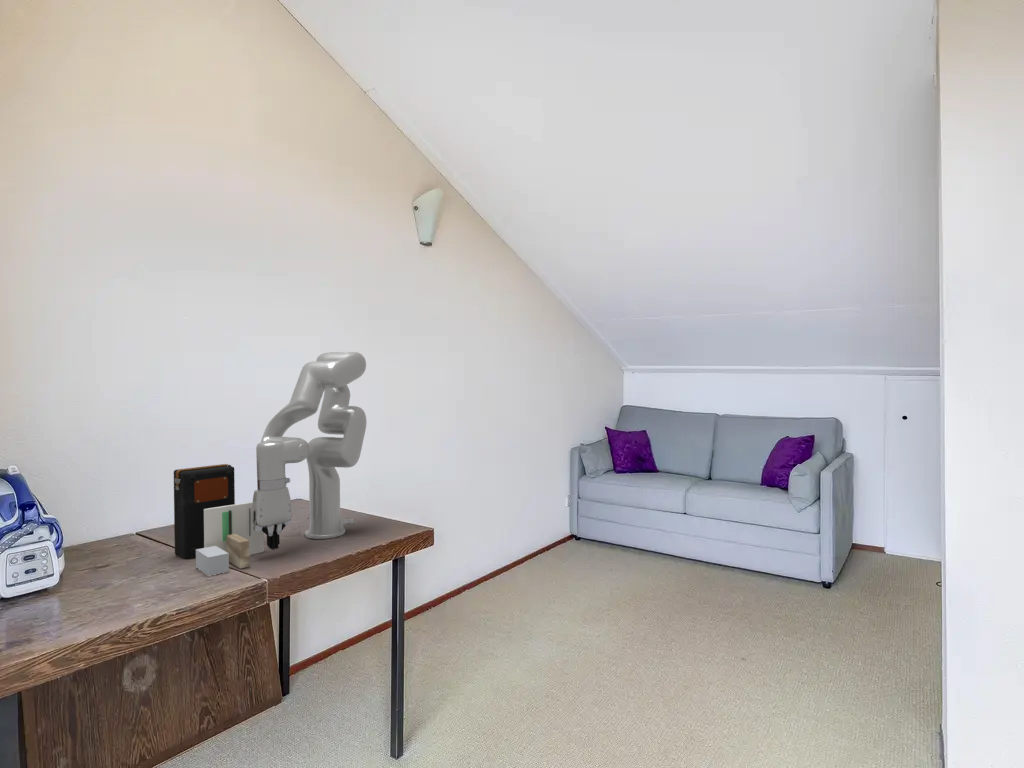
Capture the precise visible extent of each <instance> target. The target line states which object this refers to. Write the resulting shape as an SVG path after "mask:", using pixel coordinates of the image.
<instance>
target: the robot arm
mask: <svg viewBox="0 0 1024 768" xmlns="http://www.w3.org/2000/svg"><path fill="white" fill-rule="evenodd" d="M366 368H367V361H366V358H365V357H364V355H363V354H361V353H360V352H358V351H340V352H339V351H335V352H323V353H321V354H320V355H318V356H317V358H316V360H315V361H314V360H313V361H309V362H306V363H305V364H304V365H303V366H302V368H301V371H300V373H299V376H298V379H297V382H296V384H295V387H294V389H293V391H292V395H291V398H290V401H289V402H288V403H287V404H286V405H285V406H284V407H282V409H280V410H279V411H278V412H277V413H275V415H274V416H273V417H272V418H271V420H269V422H268V423H267V425H266V427H265V429H264V432H263V435H262V437H261V441H260V442H258V443H257V444H256V447H255V448H256V449H255V451H256V454H255V455H256V477H257V479H256V481H257V482H256V485H257V487H256V488H257V490H256V489H255V490H254V491H253V497H252V502H253V503H252V523H253V524H254V527H253V530H254V531H260V532H261V531H262V532H264V534H265V535H266V546H267V547H268V548H269V549H270V550H273V551H274V550H275V549H276V550H277V549H279V545H280V544H281V542H280V541H281V540H280V534H282V531H283V530H284V529H285V527H288V526H289V525H290V526H291V525H292V524H293V521H292V518H293V510H292V500H291V494H290V492H289V491H290V490H289V487H287V484H289V483H291V479H290V477H287V476H286V464H298V463H300V462H301V463H302V462H303V461H304V460H306V464H307V470H308V478H309V479H308V480H309V482H308V486H309V488H308V489H309V490H308V491H309V493H308V496H309V501H308V503H309V504H308V505H309V528H308V529H307V530H305V532H304V536H305V537H306V538H308V539H313V540H322V539H323V540H324V539H325V540H326V539H332V538H338V537H341V536H343V535H345V533H346V528H345V527H346V526H350V525H353V524H354V523H355V520H354V518H353V517H352V518H342V517H341V481H340V480H341V479H340V475H339V473H338V471H337V469H336V468H346V469H347V468H352V467H354V466H356V464H357V463H358V462H359V459H360V457H361V452H362V449H363V443H364V439H365V435H366V429H367V415H366V413H365V411H364V409H362V407H359V406H358V405H357V406H356V405H350V399H351V391H350V387H349V386H348V385H349V384H350V383H352V382H354V381H356V380H357V379H359V378H361V376H363V374H364V373H365V371H366ZM322 397H323V399H322ZM321 400H322V402H321ZM320 403H321V406H320ZM319 407H320V411H319V416H318V420H317V428H318V430H319V431H320V432H321V433H323V434H326V435H340V436H341V435H342V436H343V437H336V436H319V437H314V438H312V439H311V440H310V441H309V442H307V441H306V440H305V439H304V438H301V437H297V436H296V437H291V436H284V434H285V433H286V432H287V430H288V429H289V428H290V427H292V426H293V425H295V424H297V423H299V422H301V421H303V420H306V419H307V418H310V417H311V416H314V415H315V414H316V413H317V412H318V410H319Z"/></svg>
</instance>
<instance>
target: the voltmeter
mask: <svg viewBox="0 0 1024 768" xmlns="http://www.w3.org/2000/svg"><path fill="white" fill-rule="evenodd" d="M235 481H236V480H235V467H234V466H232V465H231V464H229V463H228V464H227V463H221V464H212V465H204V466H197V467H186V468H179V469H178V468H177V469H174V470H173V516H174V517H173V518H174V520H173V523H174V525H173V526H174V531H173V532H174V555H175V556H177V555H179V556H180V557H182V558H184V559H189V558H194V557H195V558H196V549H201V548H204V509H208V508H214V507H221V506H228V505H235V504H236V495H235V494H236V491H235V490H236V489H235Z"/></svg>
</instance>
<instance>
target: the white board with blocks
mask: <svg viewBox="0 0 1024 768" xmlns="http://www.w3.org/2000/svg"><path fill="white" fill-rule="evenodd" d="M252 503H253V501H250V502H249V501H248V502H244V503H243V502H242V503H235V505H228V506H221V507H214V508H208V509H204V548H201V549H196V556H195V568H196V569H197V568H198V569H199V571H200V570H201V571H203V572H204V573H205V574H207V575H208V576H209V575H214V574H218V573H223V572H227V573H229V572H230V562H229V553H227V544H226V535H229V510H231V511H232V534H237V535H239V536H241V537H243V538H245V539H247V540H249V556H251V555H255V554H259V553H264V552H265V537H264V536H265V535H264V534H265V533H264V532H262V531H261V532H260V531H254V530H253V527H254V524H253V523H252ZM198 569H197V570H198ZM201 571H200V572H201ZM203 572H202V573H203ZM204 573H203V574H204ZM205 574H204V575H205ZM223 574H224V573H223ZM207 575H206V576H207ZM208 576H207V577H208ZM214 576H215V575H214Z"/></svg>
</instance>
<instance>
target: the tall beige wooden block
mask: <svg viewBox="0 0 1024 768" xmlns="http://www.w3.org/2000/svg"><path fill="white" fill-rule="evenodd" d="M226 544H227V553H229V564H232V565H234V567H237V568H239V569H245V568H249V567H250V555H249V540H247V539H245V538H243V537H241V536H239V535H237V534H232V511H231V510H229V535H226Z"/></svg>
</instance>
